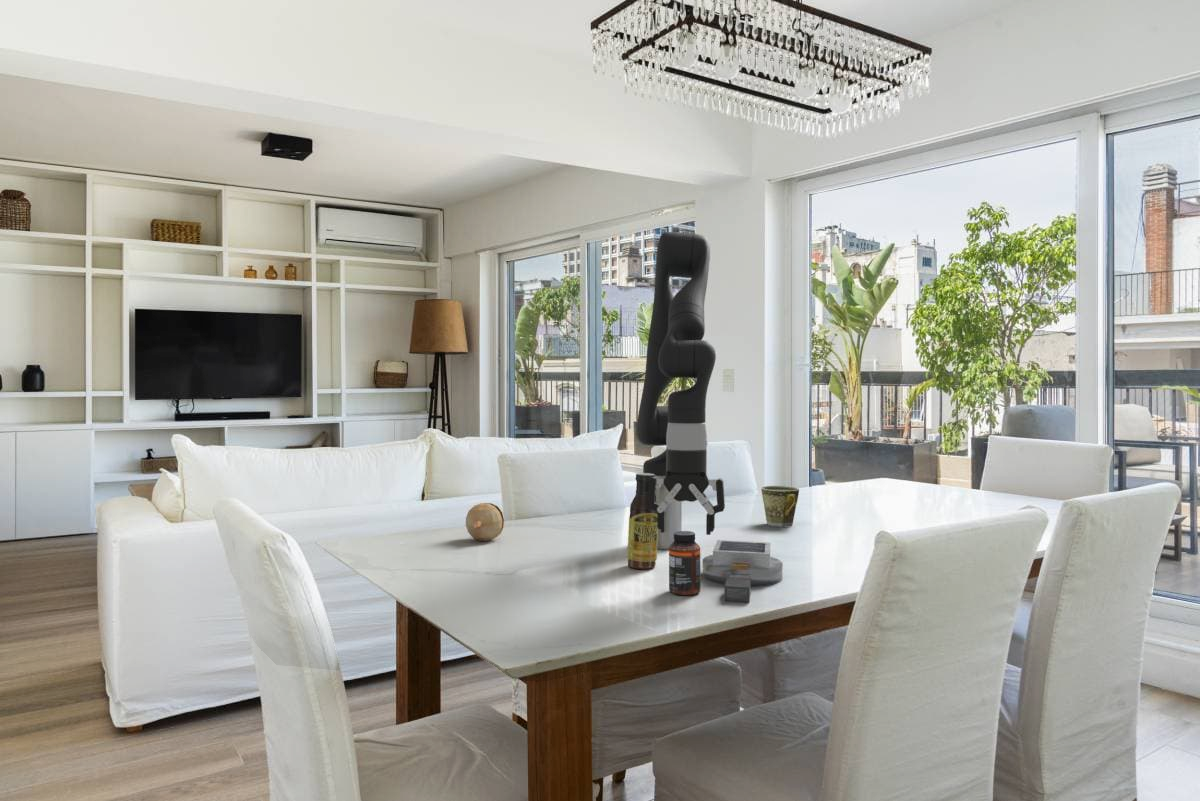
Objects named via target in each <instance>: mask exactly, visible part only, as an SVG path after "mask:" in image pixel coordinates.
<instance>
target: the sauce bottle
mask: <svg viewBox="0 0 1200 801" xmlns="http://www.w3.org/2000/svg"><path fill="white" fill-rule="evenodd" d="M653 476H655V474H650V473H643V472H638V473H636V474H635V480H636V481H635V482H636V486H635V487H636V488H635V496H634V497H633V499H632V501H631V503H630V507H629V517H628V533H627V535H628V536H627V566H628V567H629V568H631V569H638V570H649V569H650V570H651V569H654V568H655V567H656V564H657V563H656V561H657V560H658V549H657V537H658V527H657V512H656V511H655V510H653V509H649V508H648V491H649V479H650V478H651V477H653ZM656 503H657V502H656Z"/></svg>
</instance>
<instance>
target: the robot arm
mask: <svg viewBox="0 0 1200 801" xmlns="http://www.w3.org/2000/svg"><path fill="white" fill-rule="evenodd" d="M710 246H711V245H710V241H709V239H708V238H707V237H706V236H705V235H703V234H699V233H698V234H697V233H688V232H687V233H686V232H675V231H674V232H673V231H664V232H662V233H661V235H660V236H659V240H658V242H657V249H656V258H655V259H656V260H655V275H654V291H653V292H654V294H653V305H652V313H651V320H650V325H649V332H648V340H647V348H646V359H645V360H646V362H645V374H644V381H643V387H642V388H643V389H642V393H641V399H640V404H639V410H638V414H637V421H636V434H637V435H636V436H637V440H638V441H639V442H640V444H642V445H647V446H666V448H665V450H664V451H663V452H661V453H660V454H659V455H657V456H654V457H652V458H648V459H647V460H645V461H644V462H643V465H642V466H643V467H642V468H643V469H642V473H650V474H655V476H653V477H651V478H650V479H649V491H648V508H649V509H653V510H655V511H656V512H657V527H658V537H657V550H669V546H670V545H671V544H672V543H673V542H674V533H675V532H677V531H683V528H682V526H683V525H682V523H683V515H682V513H683V502H684V501H686V502H696V501H698V502H699V503H700V505H701V506H702V507H703V508H704V510H705V511H706V512H707V514H706V516H705V517H706V521H705V522H706V524H705V525H706V527H705V532H706V535H708V536H710V535H711V534H712V532H714V530H715V526H716V525H715V522H716V521H715V519H716V514H718V513H720V512H724V510H725V507H726V504H725V502H726V501H725V489H724V488H725V486H724V479H723V478H720V477H719V478H715V479H712V478H711V479H709V478H708V475H707V465H708V464H707V455H708V453H707V452H708V451H707V449H708V447H707V446H708V441H707V438H708V437H707V427H706V401H707V393H708V389H709V384H710V380H711V377H712V375H713V374H712V373H713V371H714V367H715V364H716V358H717V357H716V355H717V354H716V349H715V347H714V346H713V344H712V343H711V342H709V341H708V340H703V338H704V336H705V329H706V328H705V327H706V326H705V301H706V293H707V287H708V279H709V271H710V270H709V269H710V262H711V261H710V259H711V258H710V257H711V247H710ZM671 277H678V278H680V277H681V278H689V281H688V282H686V284H685V285H684V286H682V288H681V289H680V290H678V292H676V294H673V291H672V288H671V283H670V278H671ZM675 378H676V379H680V378H681V379H682V378H683V379H686V378H687V379H688V378H689V379H696V380H695V382H694V384H693V385H692V386H691V387H689V388H685V389H681V390H675V391H672V392H671V393H670V394H669V395H668V398H667V405H658V403H659V401H660V399H661V396H662V394H663V392H664V391H665V389H666V388H667V387H668V385H670V383H672V382H673V380H674V379H675ZM709 486H711V489H712V491H714V492H716V505H713V504H712V503H711V501H710V499H709V497H708V496H707V495H706V494H705V490H707V488H708V487H709ZM656 502H657V503H656Z"/></svg>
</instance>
